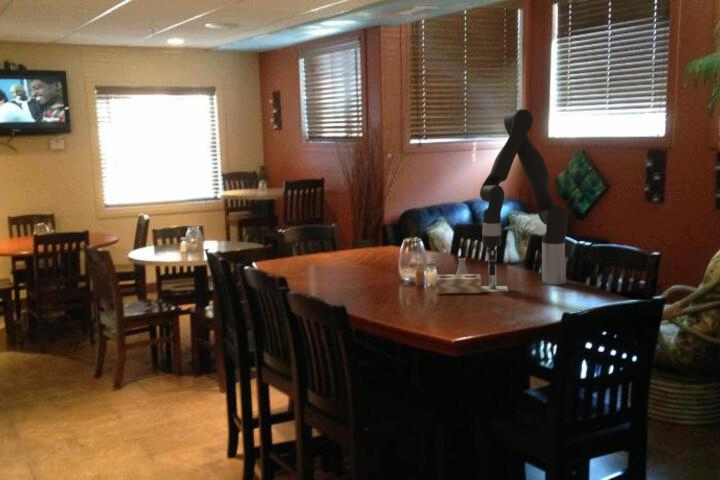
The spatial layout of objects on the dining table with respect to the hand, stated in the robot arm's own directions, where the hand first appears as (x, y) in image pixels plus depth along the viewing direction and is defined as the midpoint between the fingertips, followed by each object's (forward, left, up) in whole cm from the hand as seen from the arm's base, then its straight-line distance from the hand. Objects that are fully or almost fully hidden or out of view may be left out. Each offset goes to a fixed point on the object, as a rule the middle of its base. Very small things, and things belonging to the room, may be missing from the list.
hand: (491, 273), depth 293 cm
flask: (+12, -18, -7) cm, 23 cm away
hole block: (+14, +2, -7) cm, 15 cm away
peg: (0, 0, -7) cm, 6 cm away
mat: (0, 0, -7) cm, 7 cm away
